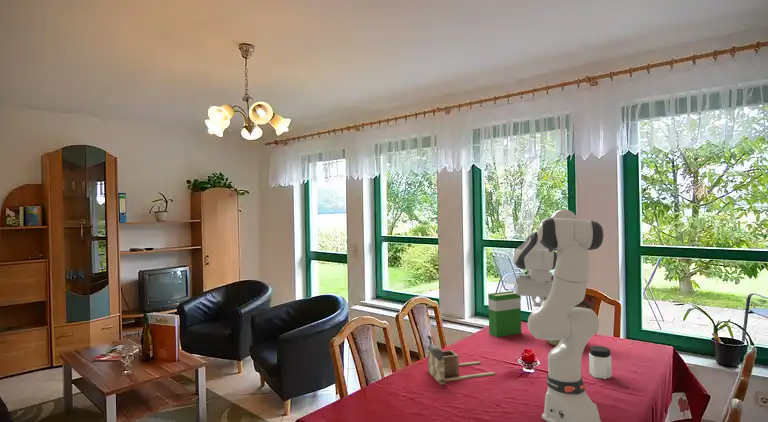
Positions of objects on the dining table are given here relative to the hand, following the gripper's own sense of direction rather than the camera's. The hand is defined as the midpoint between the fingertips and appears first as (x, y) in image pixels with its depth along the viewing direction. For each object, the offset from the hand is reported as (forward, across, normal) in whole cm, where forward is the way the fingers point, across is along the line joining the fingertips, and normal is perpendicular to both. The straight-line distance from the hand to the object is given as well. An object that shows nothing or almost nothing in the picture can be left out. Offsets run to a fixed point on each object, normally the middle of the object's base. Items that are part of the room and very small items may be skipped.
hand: (537, 306), depth 204 cm
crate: (+33, -39, +2) cm, 51 cm away
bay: (+34, -32, +3) cm, 47 cm away
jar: (+28, +29, -4) cm, 40 cm away
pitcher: (+24, +31, +43) cm, 58 cm away
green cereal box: (+25, +6, +64) cm, 69 cm away
